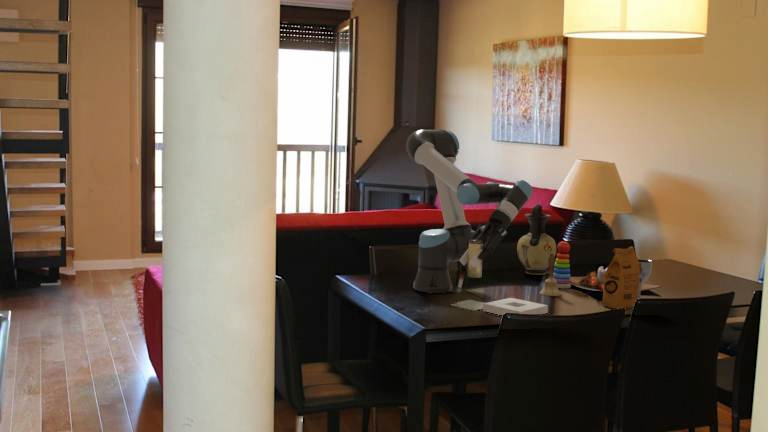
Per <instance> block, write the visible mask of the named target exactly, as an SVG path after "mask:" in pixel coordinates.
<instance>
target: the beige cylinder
mask: <svg viewBox="0 0 768 432" xmlns="http://www.w3.org/2000/svg"><path fill="white" fill-rule="evenodd" d="M483 246H484V241H483V240H477V239H471V240H469V249H468V262H467V277H468V278H475V279H476V278H479V279H480V278H482V275H483V273H482V271H483V259H482V260H481V261H480V262H479V263H478V265H477V266H476V267H475V268H474V267H473V266H472V265H471V264H470V262H471V260H472V259H473V258H474V256H475V255H476V254H477V252H478V251H479V250H480V249H482V248H481V247H483ZM482 250H483V249H482Z"/></svg>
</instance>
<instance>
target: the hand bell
mask: <svg viewBox="0 0 768 432" xmlns="http://www.w3.org/2000/svg"><path fill="white" fill-rule="evenodd" d="M555 263H556V257H554V254H553V253H550V256H549V259H548V266H549V267H548V278H547V279H545V280H544V284H543V288H542V289H541V290H540V291H539V294H540V295H542V296H546V297H547V296H548V297H559V296H561V295H562V293H561V292H560V290H559V288H557V281H556V280H554V279H553V277H554V276H553V273H554V268H555Z"/></svg>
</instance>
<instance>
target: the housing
mask: <svg viewBox="0 0 768 432" xmlns="http://www.w3.org/2000/svg"><path fill="white" fill-rule="evenodd" d="M483 303H484V304H483V310H482V312H483V311H487V312H490V313H494V314H498V315H497V316H499V315H502V314H503V313H519V314H545V313H549V312H548V311H549V309H548V308H549V305H547V304H542V303H538V302H534V301H530V300H525V299H519V298H515V297H508V298H503V299H498V300H494V301H488V302H483ZM490 313H489V314H490ZM494 314H493V315H494ZM545 315H546V314H545Z"/></svg>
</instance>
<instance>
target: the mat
mask: <svg viewBox="0 0 768 432" xmlns="http://www.w3.org/2000/svg"><path fill="white" fill-rule="evenodd" d="M458 303H459V305H460V304H461V305H462V306H463V307H465V308H467V306H468V308H469V309H471V308H473V309H474V310H475V309H476V310H477V309H483V304H484V303H485V302H482V301H477V300H473V299H466V300H462V301H457V304H458ZM465 303H466V305H467V306H466V305H463V304H465ZM471 304H472V305H471ZM461 305H460V306H461ZM462 306H461V307H462ZM470 307H471V308H470Z"/></svg>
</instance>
